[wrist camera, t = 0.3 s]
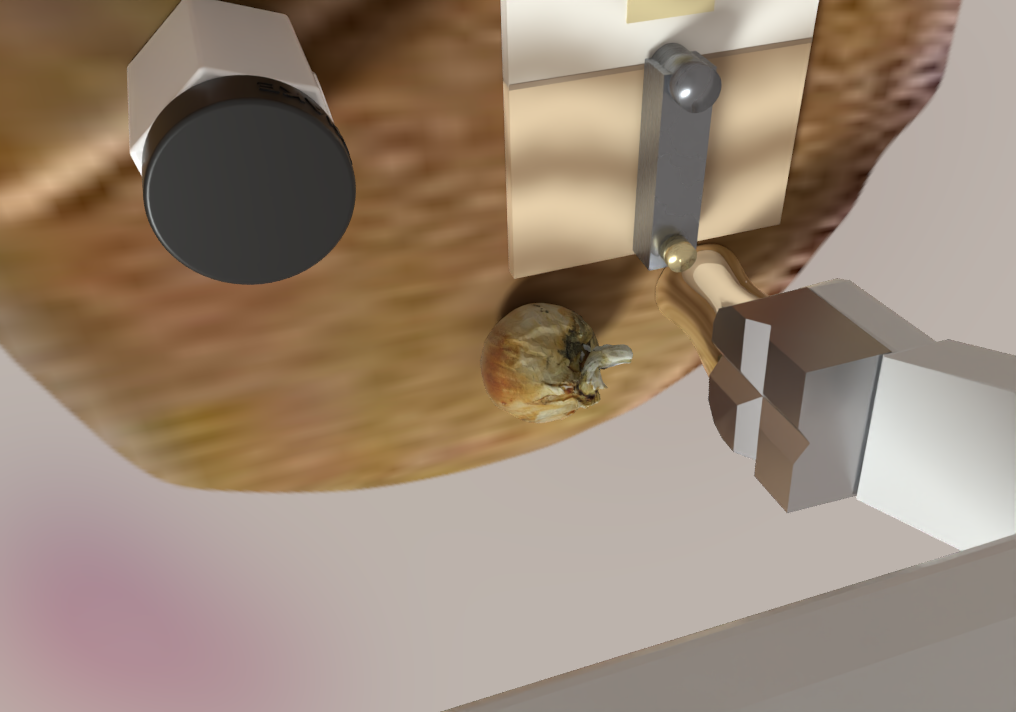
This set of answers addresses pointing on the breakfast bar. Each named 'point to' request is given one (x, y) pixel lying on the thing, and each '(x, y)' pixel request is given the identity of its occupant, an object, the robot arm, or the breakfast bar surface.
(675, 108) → the bar
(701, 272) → the beer glass
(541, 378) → the onion
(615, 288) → the breakfast bar surface
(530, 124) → the door board
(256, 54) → the jar
